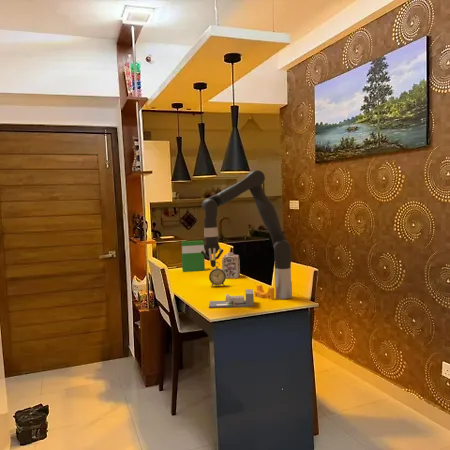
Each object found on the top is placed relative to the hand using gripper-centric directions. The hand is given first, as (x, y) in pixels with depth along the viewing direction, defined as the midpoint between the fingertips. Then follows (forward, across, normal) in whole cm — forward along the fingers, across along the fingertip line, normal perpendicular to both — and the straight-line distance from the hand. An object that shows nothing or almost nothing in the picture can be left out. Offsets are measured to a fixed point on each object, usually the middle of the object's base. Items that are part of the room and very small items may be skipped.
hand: (213, 266), depth 230 cm
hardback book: (+20, +20, -109) cm, 113 cm away
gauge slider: (+20, -11, +5) cm, 23 cm away
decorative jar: (+21, -10, -76) cm, 80 cm away
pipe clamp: (+22, -28, -10) cm, 37 cm away
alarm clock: (+21, -1, -46) cm, 50 cm away
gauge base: (+21, -9, +4) cm, 23 cm away
